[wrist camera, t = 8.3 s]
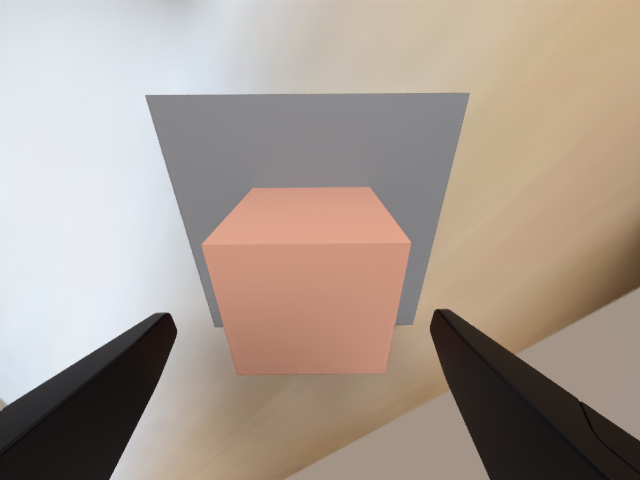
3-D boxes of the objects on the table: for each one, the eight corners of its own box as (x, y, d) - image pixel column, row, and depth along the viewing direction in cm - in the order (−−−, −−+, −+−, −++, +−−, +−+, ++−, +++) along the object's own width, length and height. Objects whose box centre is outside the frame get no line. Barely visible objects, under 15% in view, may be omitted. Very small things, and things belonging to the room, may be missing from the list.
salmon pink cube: (370, 186, 12) (411, 242, 7) (361, 281, 15) (385, 372, 10) (252, 188, 12) (201, 244, 7) (266, 282, 15) (237, 374, 9)
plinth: (442, 97, 12) (469, 92, 10) (401, 300, 19) (412, 324, 17) (176, 99, 12) (145, 95, 10) (227, 302, 19) (215, 327, 17)
